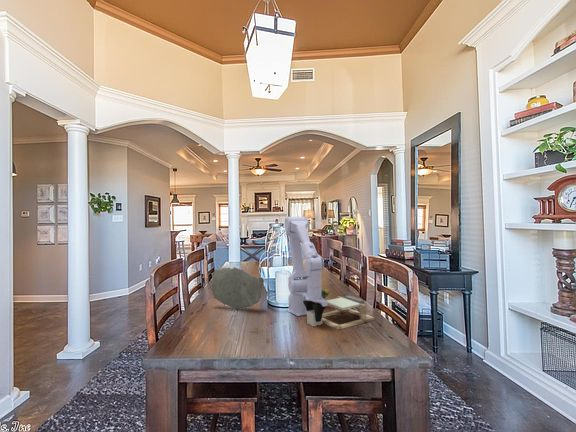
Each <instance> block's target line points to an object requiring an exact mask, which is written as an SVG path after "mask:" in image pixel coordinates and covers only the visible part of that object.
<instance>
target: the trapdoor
mask: <svg viewBox="0 0 576 432" xmlns="http://www.w3.org/2000/svg"><path fill="white" fill-rule="evenodd" d="M325 300H326V301H327V305H329V306H331V307H334V308H336V309H337V308H339V309H342V310H344V309H349V308H350V309H354V308H358V307H360V304H365V300H364V299H362V298H358V297H355V296H352V295H345V296H341V298H337V297H336V298H332V299H325Z"/></svg>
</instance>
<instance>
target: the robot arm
mask: <svg viewBox="0 0 576 432" xmlns="http://www.w3.org/2000/svg"><path fill="white" fill-rule="evenodd" d="M308 226H309V220H308V217H307V216H305V215H304V216H286V218H285V219H284V232H285V235H286V236H288V239H289V247H290V254H291V255H290V256H291V261H292V271H293V272H292V273H291V274H290V275H289V276H288V278H287V279H288V284H287V285H288V286H287V287H288V290H289V292H290V293H289V295H288V308H287V312H289V313H290V314H292V315H295V316H297V317H301V316H305V315H306V316H307V311H310V310H314V311H315V319H316V322H320V321H321V319H322V318H323V317H322V315H323V313H325V312H324V311H325V309H326V308H327V307H328V304H327V301H326V300H327V299H326V298H325V299H324V298H322V297H321V291H322V271H323V270H324V269H325V263H324V262H325V261H324V258H323V257H322V256H321V255H320V254H318V251H317V249H316V247H315V244H314V243H313V242H311V240H310V236H309V232H308V228H309V227H308ZM303 258H304V259H303ZM304 260H305V262H304ZM315 303H317V304H315ZM326 306H327V307H326Z"/></svg>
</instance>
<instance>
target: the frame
mask: <svg viewBox="0 0 576 432" xmlns="http://www.w3.org/2000/svg"><path fill="white" fill-rule="evenodd" d="M341 297H342V296H341V295H338V296H336V298H341ZM342 313H349V314H350V313H351V314H353V315H355V316H358V317H359V319H356V320H353V321H352V320H351V321H349V322H344V323H340V324H337V323H335V322H333V321H331V320H328V319H326V316H327V317H330V316H336V315H338V314H342ZM372 321H376V318H375V317H374V316H371V315H369V314H367V304H365V303H364V304H360V306H359V311H358V310H356V309H354V308H349V309H344V310H342V309H339V308H336V310H332V311H328V312H323V315H322V324H325V325H327V326H329V327H331V328H333V329H335V330H337V331H338V330H339V331H340V330H342V329H345V328H350V327H353V326H357V325H361V324H364V323H365V324H366V323H369V322H372Z"/></svg>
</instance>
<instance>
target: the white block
mask: <svg viewBox="0 0 576 432" xmlns="http://www.w3.org/2000/svg"><path fill="white" fill-rule="evenodd" d="M306 324H307V325H310V326H312V327H313V326H314V327H317V325H318V326H321V324H322V325H323V322H322V319H321V321H320V322H316V319H315V311H314V310H310V311H307V314H306Z"/></svg>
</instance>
